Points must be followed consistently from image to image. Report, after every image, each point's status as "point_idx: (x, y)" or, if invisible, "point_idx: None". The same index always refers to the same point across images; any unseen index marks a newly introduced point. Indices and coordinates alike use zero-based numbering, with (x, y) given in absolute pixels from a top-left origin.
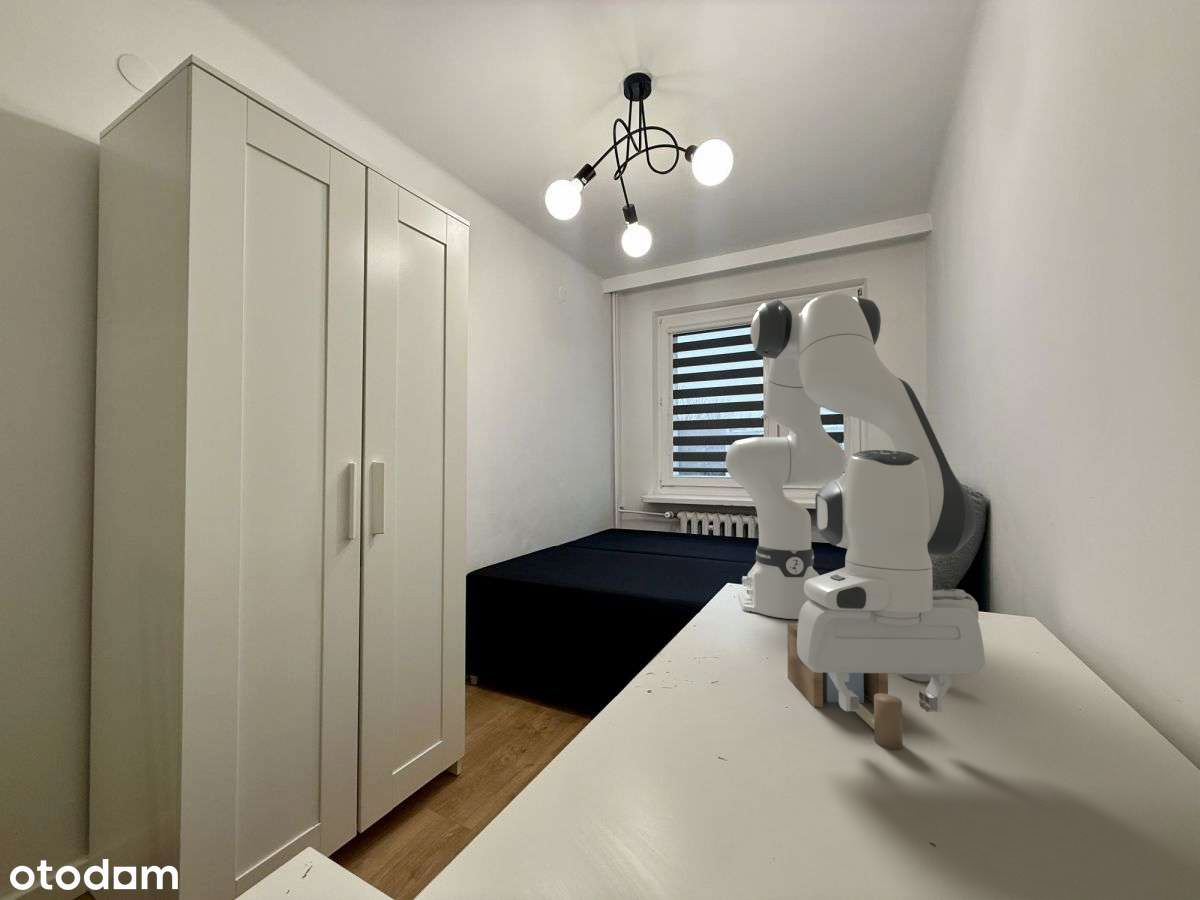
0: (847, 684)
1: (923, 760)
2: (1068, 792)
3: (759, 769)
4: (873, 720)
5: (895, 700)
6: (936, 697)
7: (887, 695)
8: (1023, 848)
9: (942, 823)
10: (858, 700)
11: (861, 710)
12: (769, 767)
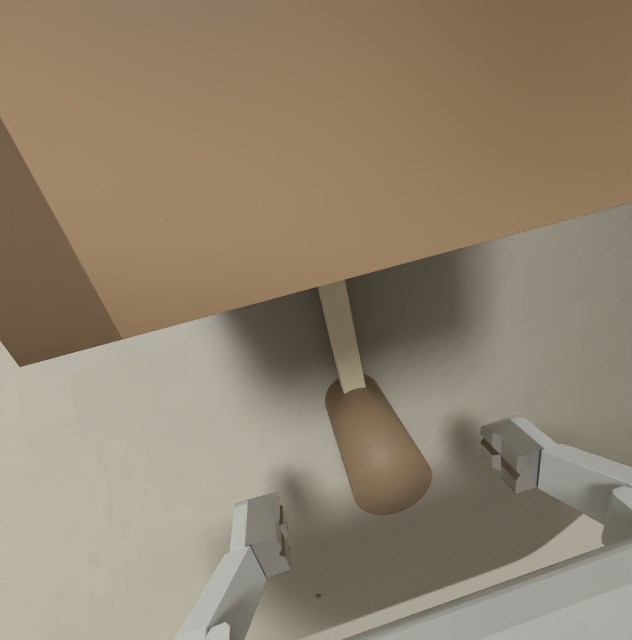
0: None
1: None
2: None
3: (71, 564)
4: (344, 364)
5: (412, 488)
6: (539, 487)
7: (403, 463)
8: (418, 564)
9: (347, 563)
10: (288, 555)
11: (329, 315)
12: (90, 553)
